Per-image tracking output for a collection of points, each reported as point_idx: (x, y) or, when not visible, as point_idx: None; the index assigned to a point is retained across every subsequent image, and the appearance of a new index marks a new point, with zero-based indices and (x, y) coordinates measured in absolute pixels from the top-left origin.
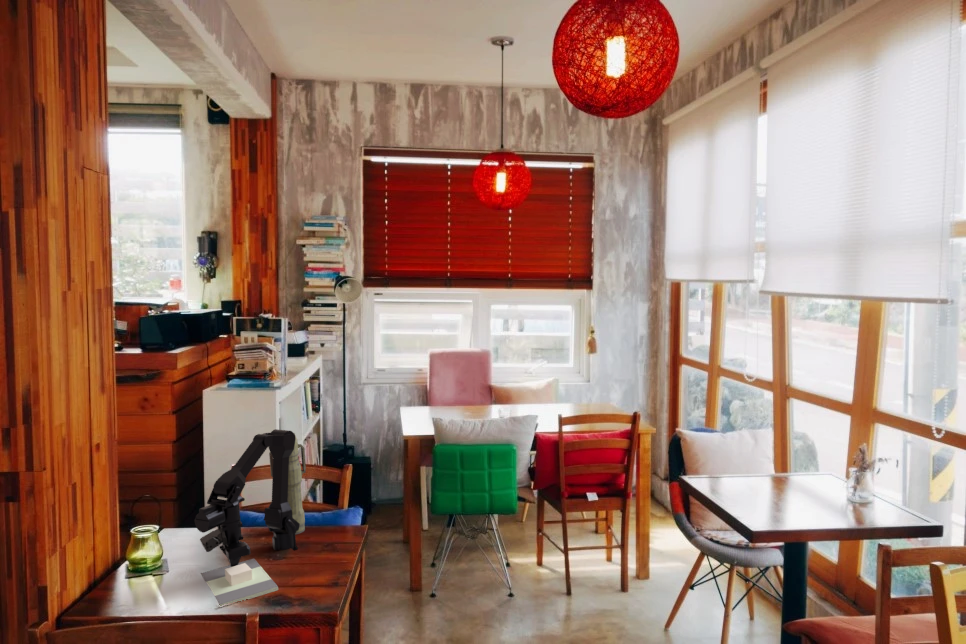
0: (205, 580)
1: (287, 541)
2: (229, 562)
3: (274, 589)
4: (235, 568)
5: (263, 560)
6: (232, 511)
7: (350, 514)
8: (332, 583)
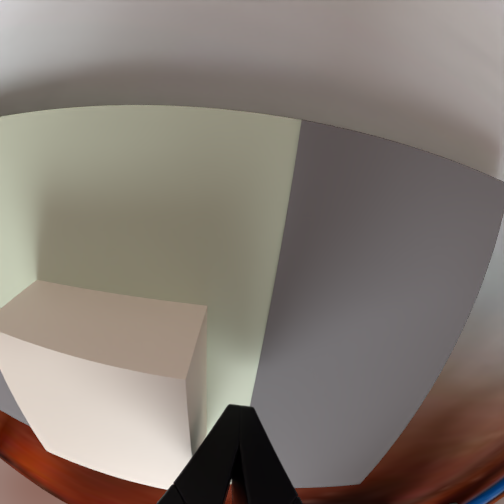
0: (336, 128)
1: None
2: (254, 469)
3: None
4: (120, 431)
5: (326, 488)
6: None
7: None
8: (4, 455)
